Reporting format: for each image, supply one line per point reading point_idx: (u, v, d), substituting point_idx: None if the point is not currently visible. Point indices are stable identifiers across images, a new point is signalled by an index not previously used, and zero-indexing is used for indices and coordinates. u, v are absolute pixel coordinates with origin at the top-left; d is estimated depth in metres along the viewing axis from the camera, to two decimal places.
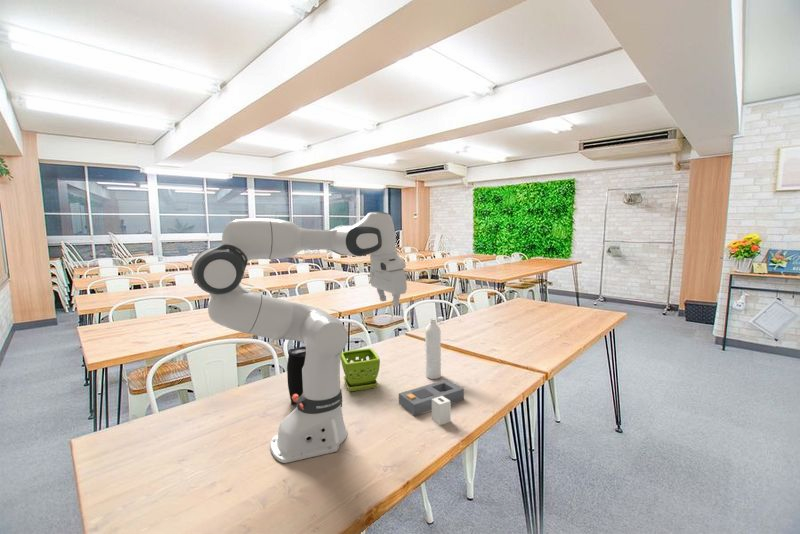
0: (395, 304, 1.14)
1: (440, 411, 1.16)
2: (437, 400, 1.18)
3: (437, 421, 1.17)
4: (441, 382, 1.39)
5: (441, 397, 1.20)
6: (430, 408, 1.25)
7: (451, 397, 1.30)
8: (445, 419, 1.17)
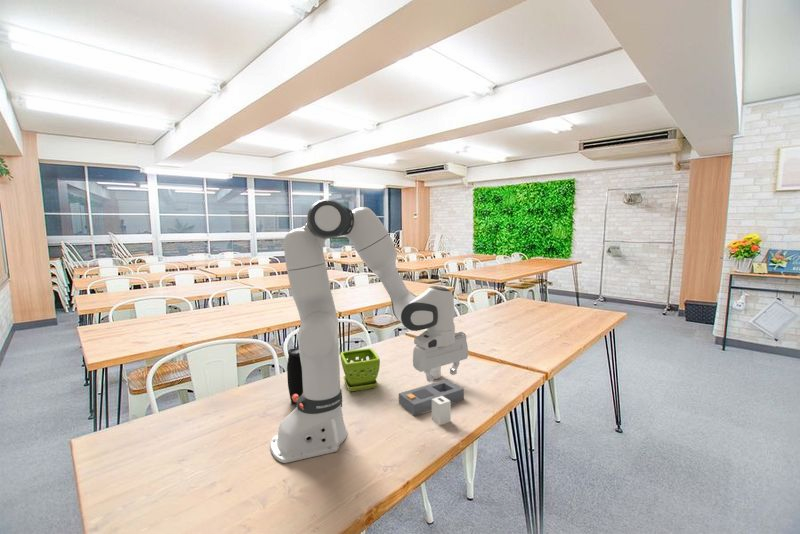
0: (427, 379, 1.15)
1: (440, 411, 1.16)
2: (437, 400, 1.18)
3: (437, 421, 1.17)
4: (441, 382, 1.39)
5: (441, 397, 1.20)
6: (430, 408, 1.25)
7: (451, 397, 1.30)
8: (445, 419, 1.17)
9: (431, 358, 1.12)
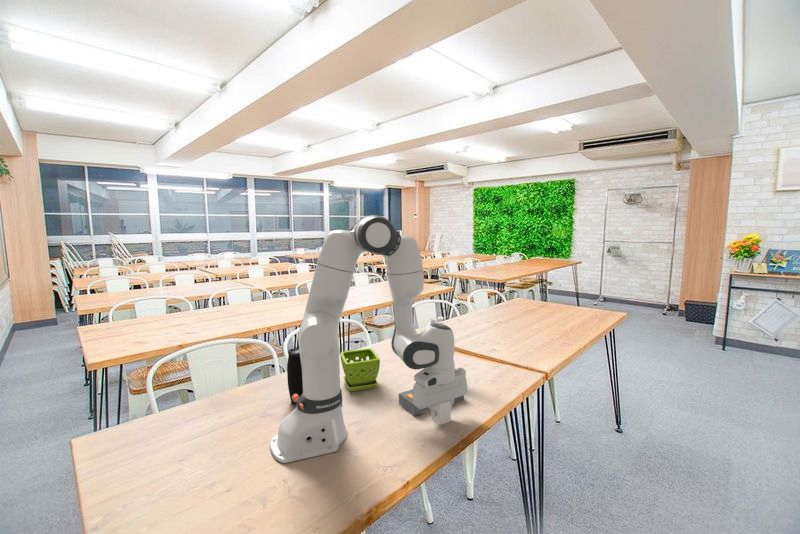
0: (431, 413, 1.17)
1: (440, 411, 1.16)
2: None
3: (437, 421, 1.17)
4: None
5: None
6: None
7: None
8: (445, 419, 1.17)
9: (431, 395, 1.14)
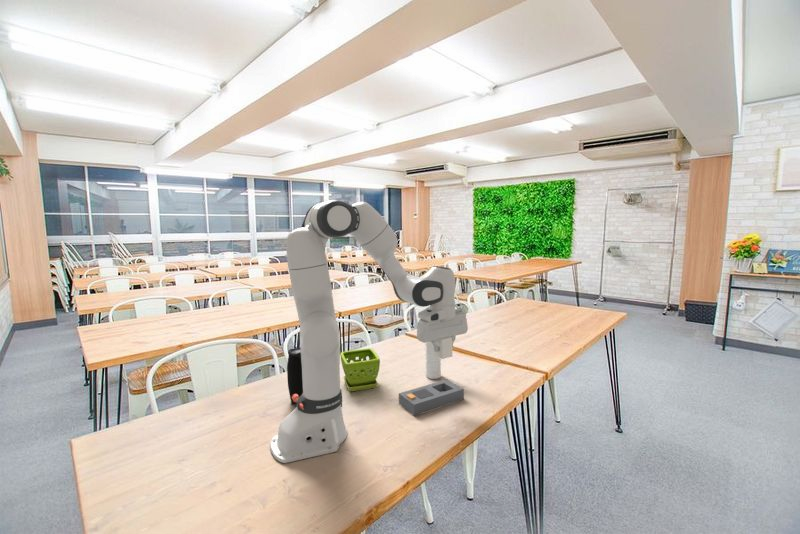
0: (434, 349, 1.27)
1: (443, 346, 1.26)
2: None
3: (440, 356, 1.27)
4: (441, 382, 1.39)
5: None
6: (430, 408, 1.25)
7: (451, 397, 1.30)
8: (447, 354, 1.27)
9: (433, 331, 1.24)
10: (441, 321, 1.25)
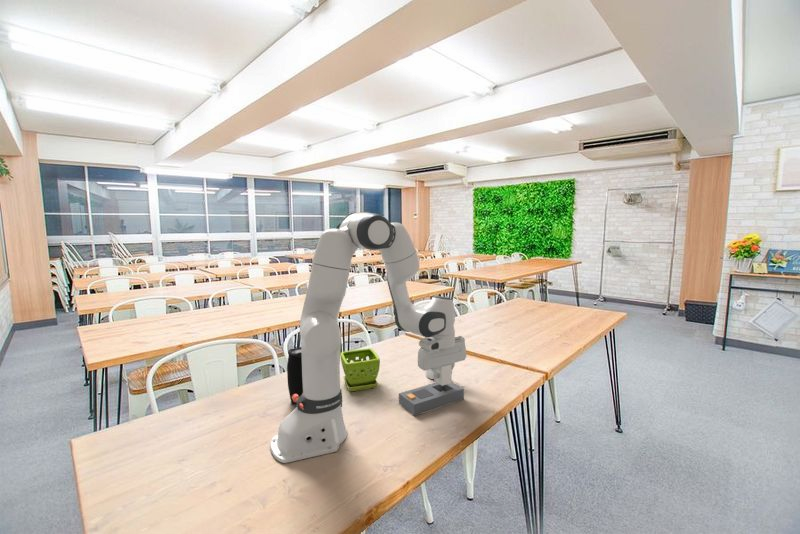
0: (434, 376, 1.32)
1: (442, 373, 1.30)
2: None
3: (439, 382, 1.32)
4: None
5: None
6: (430, 408, 1.25)
7: (451, 397, 1.30)
8: (447, 380, 1.32)
9: (433, 359, 1.28)
10: (441, 349, 1.29)
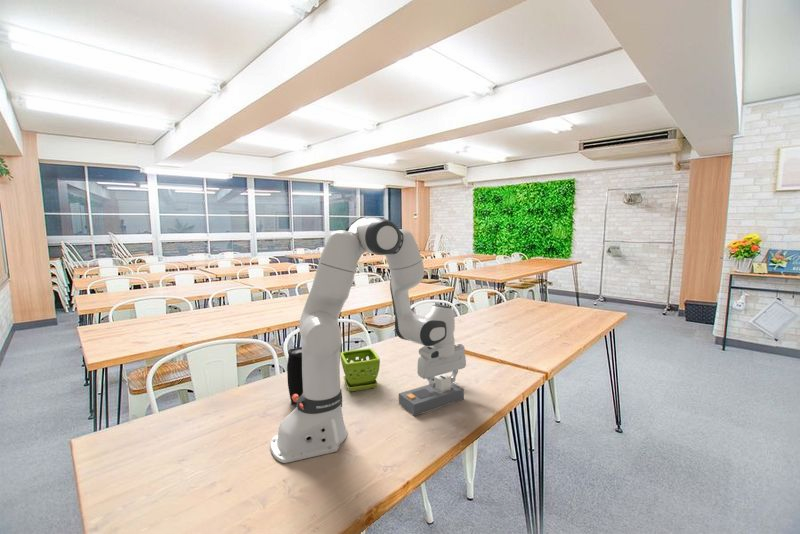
0: (430, 385, 1.31)
1: (442, 386, 1.31)
2: (439, 377, 1.33)
3: None
4: None
5: (442, 375, 1.35)
6: (430, 408, 1.25)
7: (451, 397, 1.30)
8: None
9: (433, 367, 1.29)
10: (441, 358, 1.30)
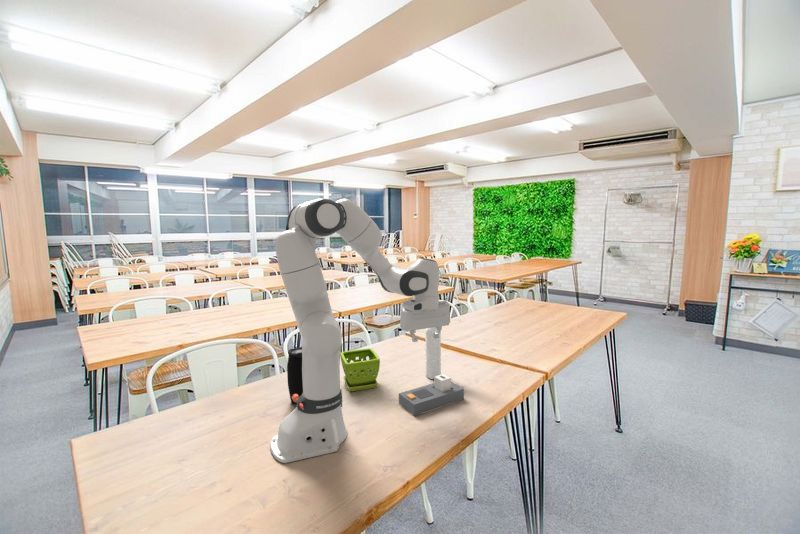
0: (412, 339, 1.31)
1: (442, 386, 1.31)
2: (439, 377, 1.33)
3: None
4: None
5: (442, 375, 1.35)
6: (430, 408, 1.25)
7: (451, 397, 1.30)
8: None
9: (416, 320, 1.28)
10: (424, 311, 1.29)
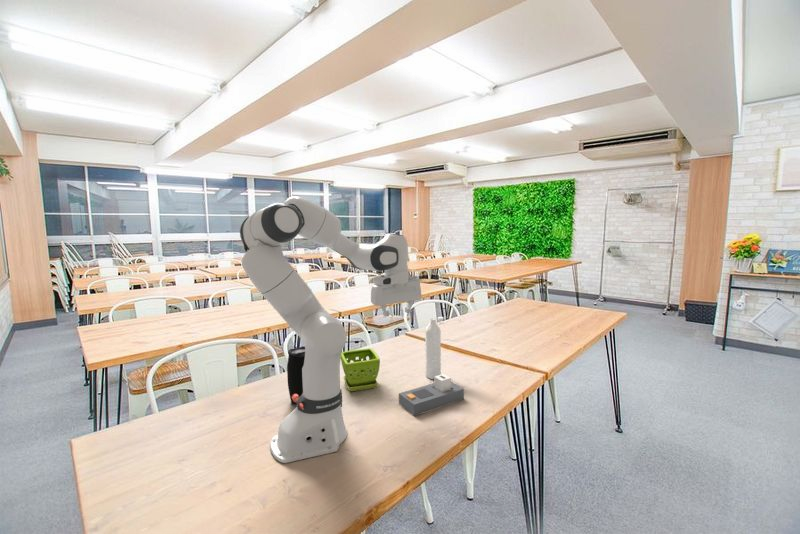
0: (383, 314, 1.33)
1: (442, 386, 1.31)
2: (439, 377, 1.33)
3: None
4: None
5: (442, 375, 1.35)
6: (430, 408, 1.25)
7: (451, 397, 1.30)
8: None
9: (386, 295, 1.30)
10: (394, 286, 1.31)
